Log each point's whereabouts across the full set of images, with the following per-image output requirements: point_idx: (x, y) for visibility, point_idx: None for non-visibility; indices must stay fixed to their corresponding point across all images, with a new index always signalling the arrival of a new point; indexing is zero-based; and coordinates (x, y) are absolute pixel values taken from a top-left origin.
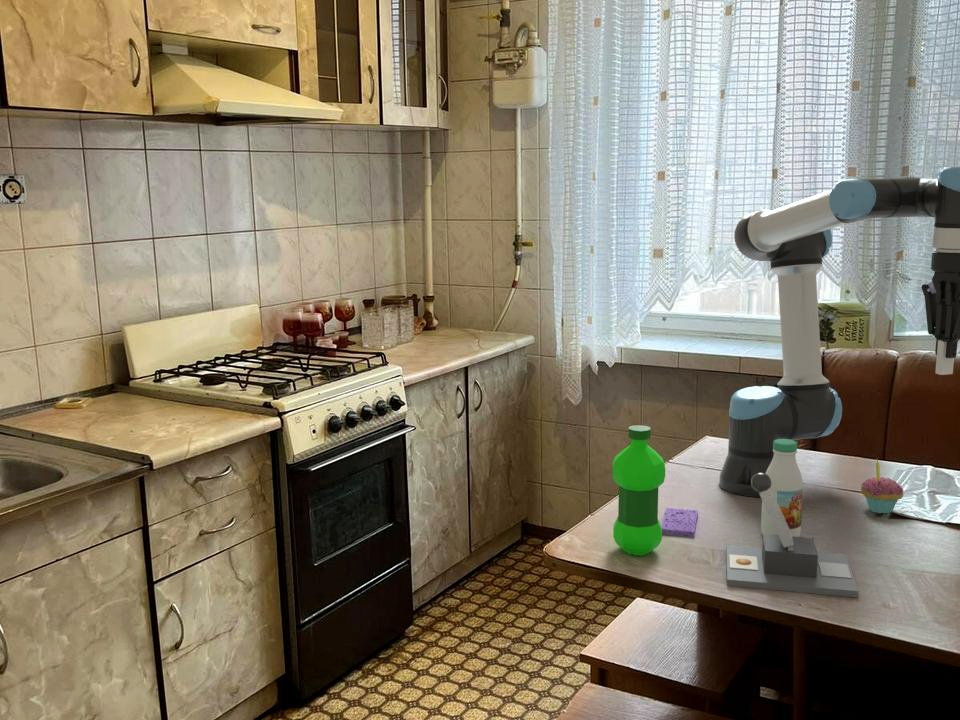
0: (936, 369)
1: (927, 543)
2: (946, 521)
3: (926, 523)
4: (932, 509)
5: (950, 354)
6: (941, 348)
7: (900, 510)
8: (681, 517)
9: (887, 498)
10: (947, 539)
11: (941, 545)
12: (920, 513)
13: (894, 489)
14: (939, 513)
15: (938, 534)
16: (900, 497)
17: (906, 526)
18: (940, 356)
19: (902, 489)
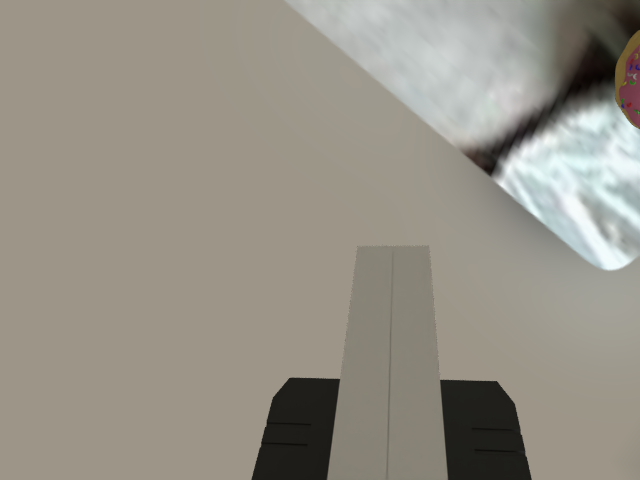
0: (418, 265)
1: (393, 13)
2: (504, 174)
3: (514, 114)
4: (590, 200)
5: (271, 412)
6: (365, 424)
7: None
8: None
9: (626, 48)
10: (400, 87)
11: (370, 42)
12: (582, 150)
13: (635, 84)
14: (558, 197)
15: (437, 89)
16: (615, 97)
17: (519, 43)
18: (376, 352)
19: (637, 123)
